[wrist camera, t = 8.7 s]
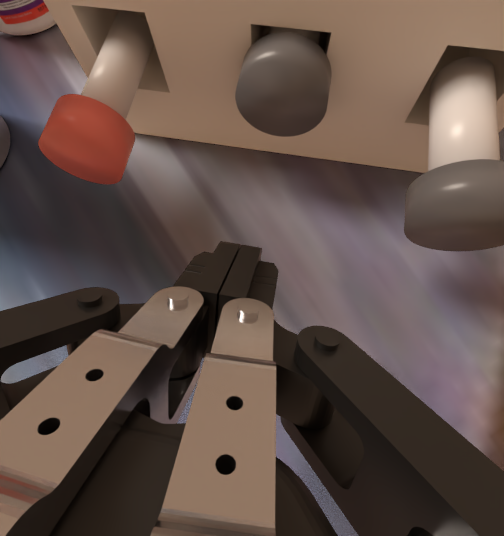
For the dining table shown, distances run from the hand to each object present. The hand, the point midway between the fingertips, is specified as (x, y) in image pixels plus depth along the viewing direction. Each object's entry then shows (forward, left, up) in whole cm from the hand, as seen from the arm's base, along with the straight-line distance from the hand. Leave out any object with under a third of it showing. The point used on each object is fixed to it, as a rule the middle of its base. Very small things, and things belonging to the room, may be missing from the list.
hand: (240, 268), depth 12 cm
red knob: (-3, +13, -5) cm, 14 cm away
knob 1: (+7, +13, -5) cm, 16 cm away
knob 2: (+13, +3, -5) cm, 14 cm away
